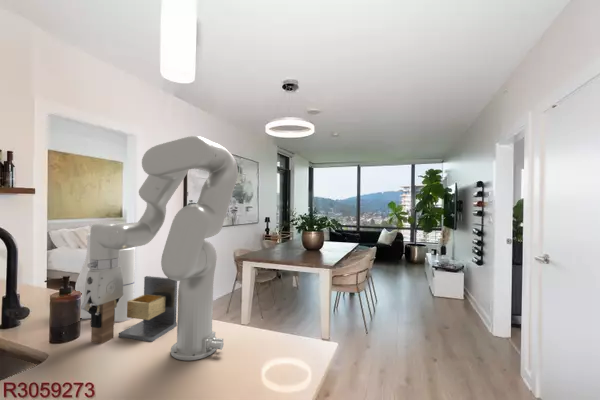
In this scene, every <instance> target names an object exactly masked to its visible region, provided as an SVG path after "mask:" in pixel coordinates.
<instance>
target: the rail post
mask: <svg viewBox="0 0 600 400" xmlns="http://www.w3.org/2000/svg"><path fill="white" fill-rule="evenodd" d="M95 309H96V306H95ZM100 314H101V327H100V328H94V327H91V337H90V338H91V339H90V342H91V343H95V344H101V345H103V344H105V343H106V342H108V341H110V340H112V339H114V331H115V327H114V326H115V325H114V324H115V322H114V300H113V301H110V302H108V303H105V304H102V305H101V310H100Z"/></svg>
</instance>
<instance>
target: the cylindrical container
mask: <svg viewBox="0 0 600 400" xmlns="http://www.w3.org/2000/svg"><path fill="white" fill-rule="evenodd" d="M119 266H121V270H122V276H123V296H122V297H121V298H120V299H119V301H118V303H117V307H116V308H114V309H115V319H114V323H116V322H117V323H119V322H125V321H128V320H129V321H130V320H131V319H132V318H128V317H127V301H130V300H132V299H134V298H135V286H136V285H135V279H136V276H135V275H136V247H133V248H129V249H123V250H119Z"/></svg>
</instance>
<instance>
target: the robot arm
mask: <svg viewBox="0 0 600 400" xmlns="http://www.w3.org/2000/svg"><path fill="white" fill-rule="evenodd" d="M237 163H238V162H237V161H236V158H235V157H234V156H233V154H232V153H231V152H230V151H229V150H228V149H226V147H224V146H222V145H221V144H219V143H216V142H214V141H212V140H210V139H208V138H205V137H202V136H199V135H198V136H197V135H190V136H185V137H182V138H178V139H175V140H171V141H167V142H163V143H160V144H156V145H154V146H151V147H150V148H149V149H147V150H146V151H145V152H144V154H143V155H142V159H141V167H142V169H143V172H144V173H146V174H147V175H148V176H147V177H146V179H145V180H144V182H143V183H142V185H141V186H140V187H139V189H138V196H139V197H140V198H141V199H142V200H143V201H144V202H146V208H145V211H144V212H143V214H142V216H141V217H140V219H139V220H138V221H137V222H130V223H129V222H127V223H120V224H119V223H113V222H100V223H95V224H92V226H91V227H90V231H89V233H90V263H89V264H88V265H87V267H88V268H89V270H88V273H87V277H86V282H85V290H84V302H83V304H82V306H81V309H83V310H86V311H87V312H89V314H91V318H90V327H91V328H92V327H94V328H100V327H101V314H100V310H101V305H102V304H105V303H108V302H110V301H113V300H114V308H116V307H117V303H118V301H119V299H120V298H121V297H122V296H123V276H122V270H121V266H119V250H123V249H129V248H133V247H134V248H136V247H141V246H145V245H148V244H149V243H151V242H152V241H153V239H154V238H155V237H156V235H158V232H159V231H160V230H161V228H162V227H163V224H164V222H165V219H166V215H167V205H168V203H169V201H170V200H171V199H172V196H173V195H174V194H175V193H176V191H177V189H178V188H179V186H180V185H181V183H182V182H183V180H184V179H185V177H186V176H187V175H188V172H189V170H194V169H195V170H200V171H206V172H208V177H207V178H206V180H205V182H204V183H203V185H202V188H201V190H200V194H199V198H198V200H197V202H196V203H193V204H192V203H191V204H189V205H185V206H183V207H182V208H180V209H179V211H177V212H176V214H175V215H174V218H173V220H172V223H171V225H170V229H169V230H168V231H169V232H168V233H167V238H166V241H165V244H164V246H163V247H164V248H163V250H162V253H161V254H162V255H161V261H160V265H161V266H160V267H161V270H162V272H163V274H164V276H166V277H165V278H169V279H171V280H174V281H177V282H178V288H177V319H176V322H177V326H176V327H177V328H176V342H175V343H173V345H172V346H171V348H170V355H171V357H173V358H174V359H175V360H176V359H177V360H178V361H196V360H200V359H204V358H206V357H209V356H211V355H212V354H214V353H215V352H216V350H219V351H220V350H223V349H224V338H221V337H220V338H218V337H216V331H213V310H214V309H213V307H214V306H213V302H214V300H213V299H214V279H215V271H216V266H217V258H218V257H217V250H216V249H215V247H214V245H213V244H212V243H211V242H210V241H209V240H206V239H208V238H213V237H214V236H217V235H218V234H219V233H220V232H221V230H222V228H223V226H224V224H225V223H224V222H225V219H226V217H227V213H228V211H229V210H228V209H229V207H230V204H231V199H232V196H233V193H234V189H235V186H236V184H237V181H238V180H237V179H238V175H239V170H238V169H239V168H238V164H237ZM89 305H90V306H89ZM95 306H96V309H95ZM114 319H115V309H114Z"/></svg>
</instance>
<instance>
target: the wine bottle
mask: <svg viewBox="0 0 600 400" xmlns="http://www.w3.org/2000/svg"><path fill="white" fill-rule="evenodd" d="M86 240H87V241H86V243H87V244H86V256H85V259H84V262H83V265H82V266H81V270H80V272H79V275H78V276H77V278H76V281H75V285H74V286H75V288H74V291H75V290H76V291H80V292H81V293H82V297H81V306H82V304H83V302H84V290H85V282H86V277H87V273H88V270H89V268H88V267H87V265H88V264H89V263H90V232H89V233H87V234H86ZM89 306H90V305H89ZM81 318H82V319H81V320H89V319H90V320H91V314H89V312H87V311H86V310H83V309H81Z"/></svg>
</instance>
